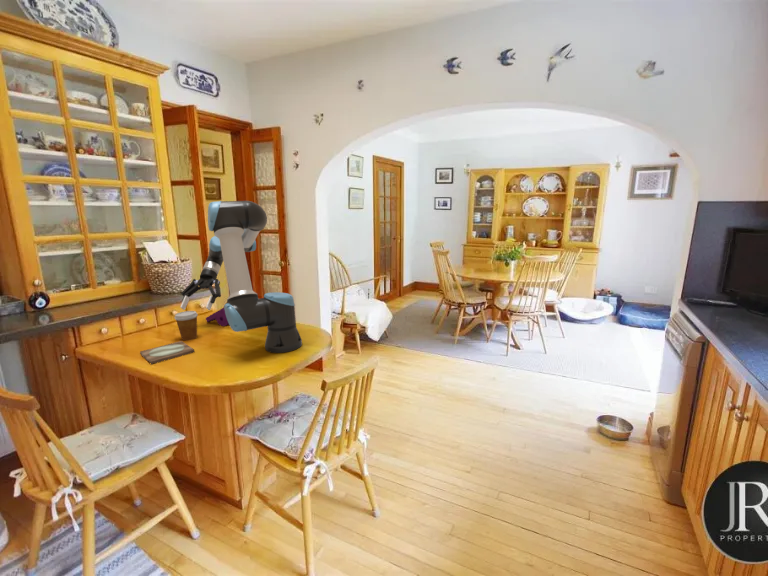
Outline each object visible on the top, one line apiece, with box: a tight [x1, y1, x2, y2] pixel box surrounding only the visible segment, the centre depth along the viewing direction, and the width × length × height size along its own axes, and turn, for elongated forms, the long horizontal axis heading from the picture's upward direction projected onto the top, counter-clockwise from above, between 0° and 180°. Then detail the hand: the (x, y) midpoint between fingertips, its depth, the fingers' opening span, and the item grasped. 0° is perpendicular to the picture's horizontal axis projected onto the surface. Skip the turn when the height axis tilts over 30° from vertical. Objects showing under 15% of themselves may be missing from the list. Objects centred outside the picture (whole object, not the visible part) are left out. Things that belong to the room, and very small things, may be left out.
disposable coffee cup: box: [174, 310, 198, 341], centre depth 171 cm, size 10×10×12 cm
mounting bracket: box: [205, 307, 230, 327], centre depth 195 cm, size 10×8×18 cm
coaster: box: [139, 340, 195, 365], centre depth 154 cm, size 16×16×1 cm
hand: (195, 308), depth 177 cm, fingers open, 13 cm apart
